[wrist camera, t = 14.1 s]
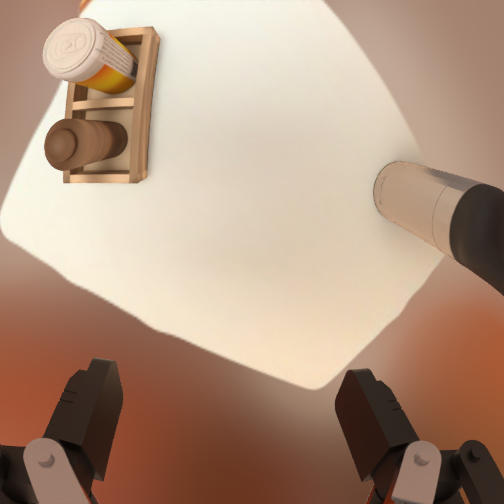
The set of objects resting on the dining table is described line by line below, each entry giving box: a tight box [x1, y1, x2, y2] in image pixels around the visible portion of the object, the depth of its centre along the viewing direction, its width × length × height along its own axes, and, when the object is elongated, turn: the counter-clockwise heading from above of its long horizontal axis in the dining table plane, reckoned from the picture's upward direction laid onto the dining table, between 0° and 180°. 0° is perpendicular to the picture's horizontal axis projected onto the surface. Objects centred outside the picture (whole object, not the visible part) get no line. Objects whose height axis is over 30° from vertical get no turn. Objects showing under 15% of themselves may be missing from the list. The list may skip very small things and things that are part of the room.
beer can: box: [43, 18, 138, 94], centre depth 24 cm, size 6×6×15 cm
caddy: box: [44, 27, 160, 183], centre depth 26 cm, size 10×19×16 cm, turn 174°
